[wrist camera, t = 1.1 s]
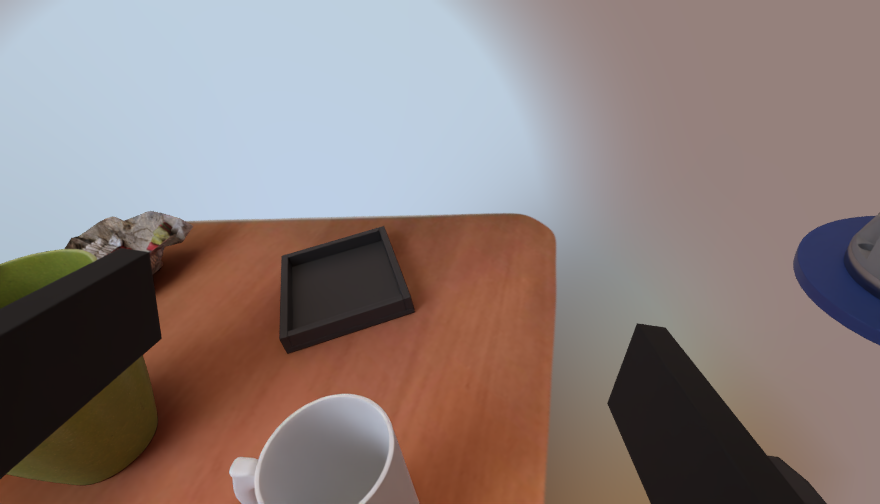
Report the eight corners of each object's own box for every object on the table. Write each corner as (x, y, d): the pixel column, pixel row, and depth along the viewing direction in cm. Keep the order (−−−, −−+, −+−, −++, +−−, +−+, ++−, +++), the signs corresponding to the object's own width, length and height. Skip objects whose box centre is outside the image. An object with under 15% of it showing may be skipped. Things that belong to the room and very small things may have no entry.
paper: (58, 383, 45) (3, 330, 40) (-32, 367, 49) (-89, 318, 45) (216, 248, 64) (191, 202, 59) (140, 245, 68) (112, 203, 64)
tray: (387, 239, 58) (383, 225, 57) (414, 312, 45) (410, 296, 44) (287, 269, 56) (281, 255, 55) (287, 353, 43) (279, 339, 42)
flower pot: (236, 403, 39) (137, 267, 30) (63, 580, 29) (-165, 457, 20) (148, 357, 46) (46, 236, 37) (-15, 487, 36) (-211, 364, 27)
